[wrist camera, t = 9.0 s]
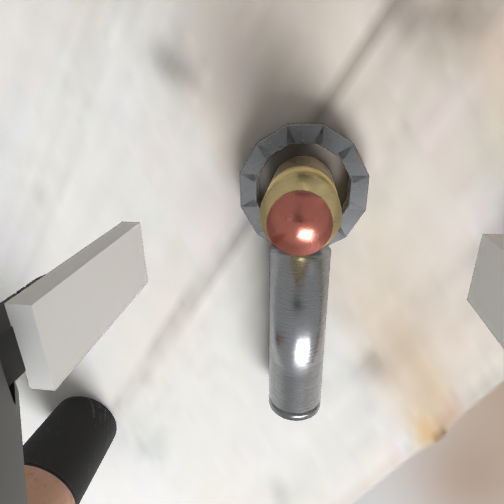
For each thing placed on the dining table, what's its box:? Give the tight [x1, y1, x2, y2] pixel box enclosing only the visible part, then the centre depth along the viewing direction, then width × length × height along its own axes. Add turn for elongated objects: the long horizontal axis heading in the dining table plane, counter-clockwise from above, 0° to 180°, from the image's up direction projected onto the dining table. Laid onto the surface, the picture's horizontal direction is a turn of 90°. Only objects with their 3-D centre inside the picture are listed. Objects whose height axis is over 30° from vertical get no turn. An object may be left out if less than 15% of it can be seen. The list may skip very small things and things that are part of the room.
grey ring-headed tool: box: [240, 124, 369, 421], centre depth 30 cm, size 24×9×5 cm, turn 1°
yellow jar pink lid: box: [259, 156, 342, 256], centre depth 25 cm, size 5×5×10 cm
